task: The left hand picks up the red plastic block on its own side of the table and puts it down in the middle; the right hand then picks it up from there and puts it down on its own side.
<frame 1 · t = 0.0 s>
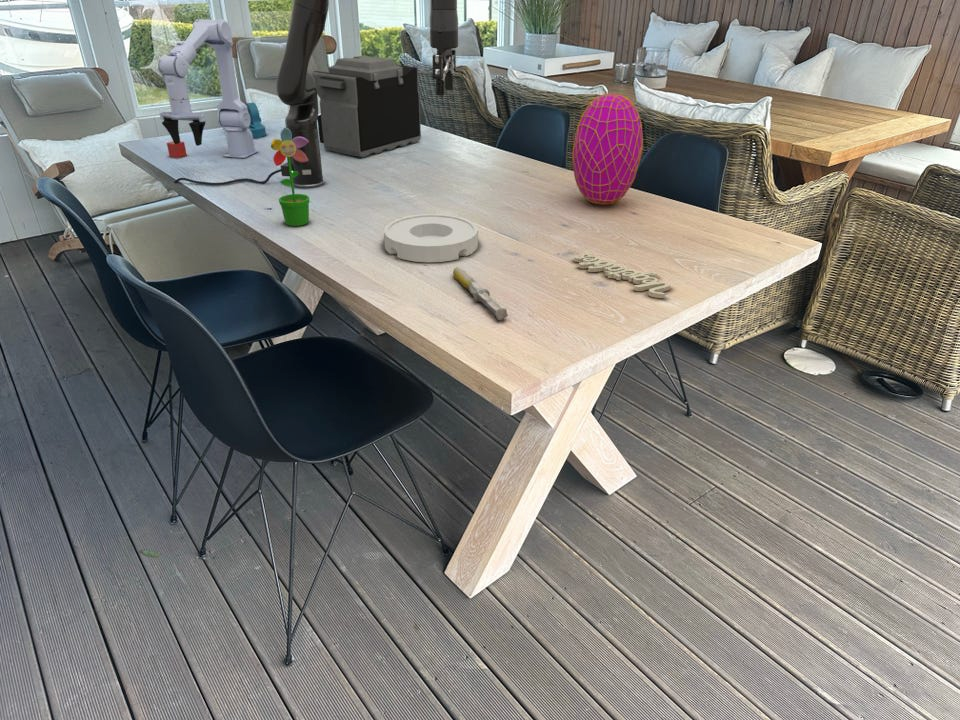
left hand: (188, 144, 216), 10 cm above the table, tool pointing down, fingers open, 7 cm apart
right hand: (444, 92, 191), 29 cm above the table, tool pointing down, fingers open, 8 cm apart
decorative sign: (623, 275, 156), on the table
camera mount: (249, 133, 274), on the table
cooler box: (371, 146, 258), on the table
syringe: (478, 297, 145), on the table
potted flower: (298, 223, 184), on the table
block: (178, 156, 242), on the table
decorative egg: (601, 203, 201), on the table
ashtray: (431, 245, 171), on the table
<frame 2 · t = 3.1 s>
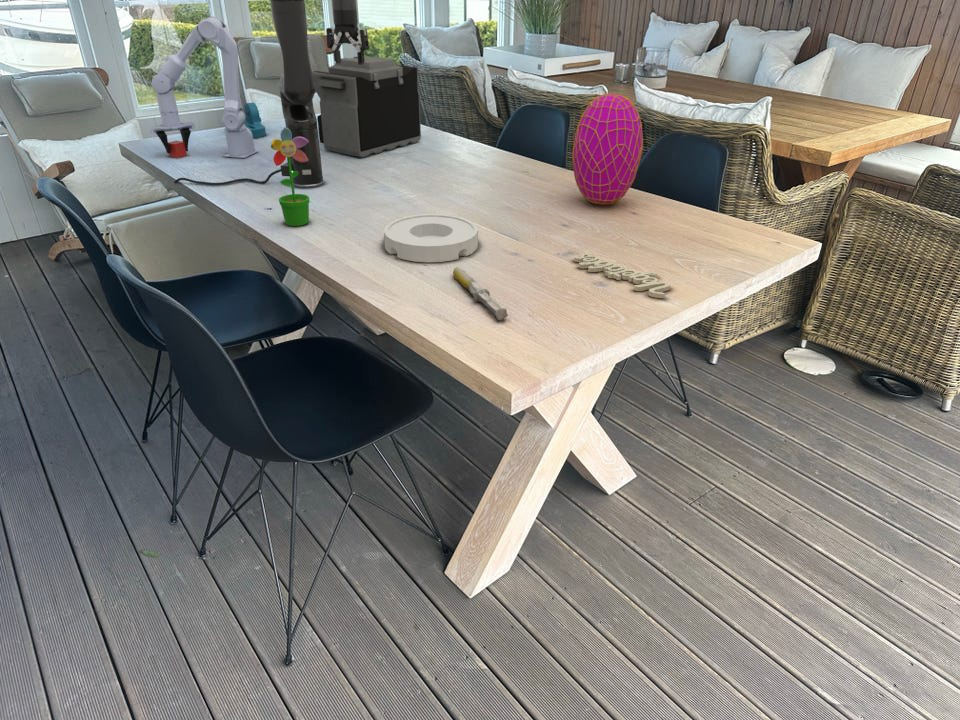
left hand: (177, 151, 242), 2 cm above the table, tool pointing down, fingers closed on block, 5 cm apart
right hand: (349, 63, 223), 31 cm above the table, tool pointing down, fingers open, 8 cm apart
block: (178, 156, 242), on the table, touching left hand
everything else where it was.
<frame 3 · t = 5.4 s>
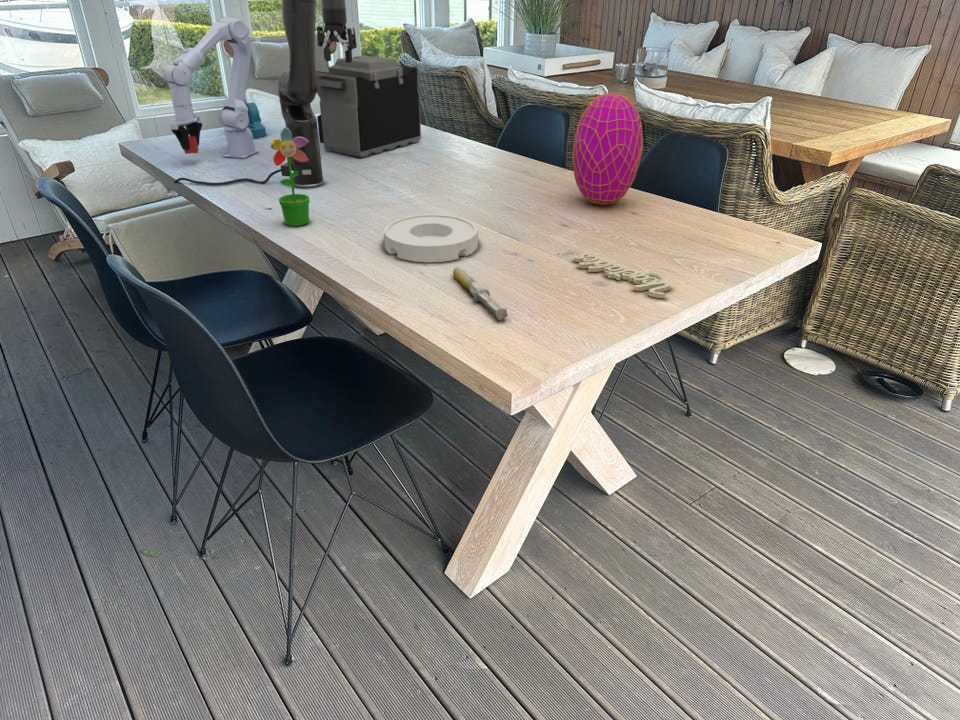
left hand: (191, 147, 230), 6 cm above the table, tool pointing down, fingers closed on block, 5 cm apart
right hand: (338, 61, 227), 31 cm above the table, tool pointing down, fingers open, 8 cm apart
block: (191, 152, 231), point 4 cm above the table, touching left hand
everything else where it was.
when the left hand's fingers open (2 cm above the table, at t = 7.6 s): block stays where it is, on the table.
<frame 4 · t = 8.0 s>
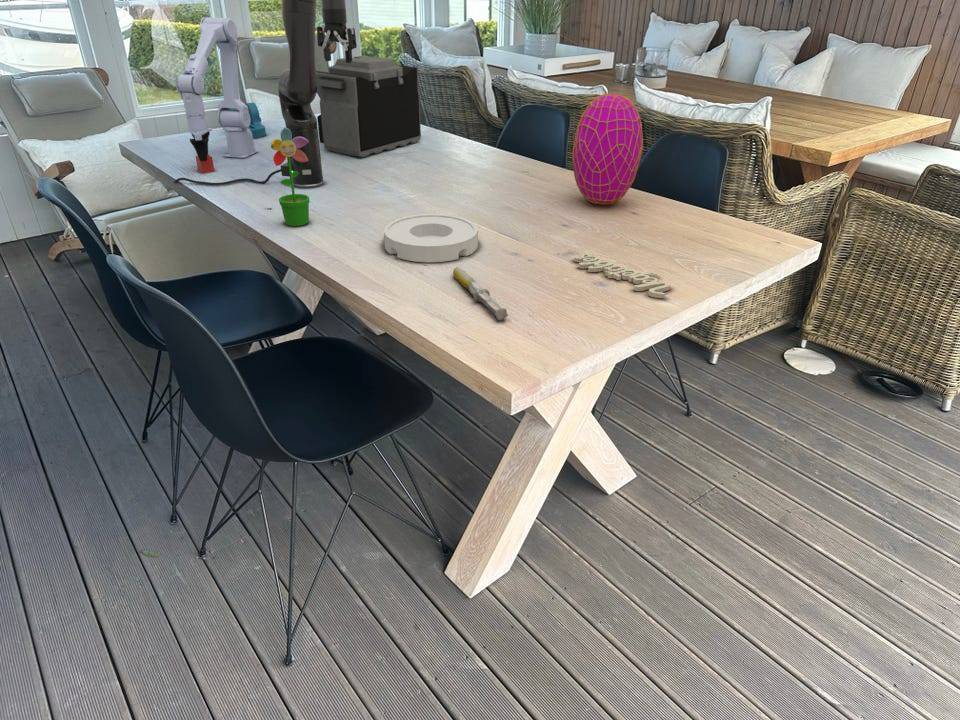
left hand: (204, 158, 225), 4 cm above the table, tool pointing down, fingers open, 7 cm apart
right hand: (338, 61, 227), 31 cm above the table, tool pointing down, fingers open, 8 cm apart
block: (206, 170, 227), on the table
everything else where it was.
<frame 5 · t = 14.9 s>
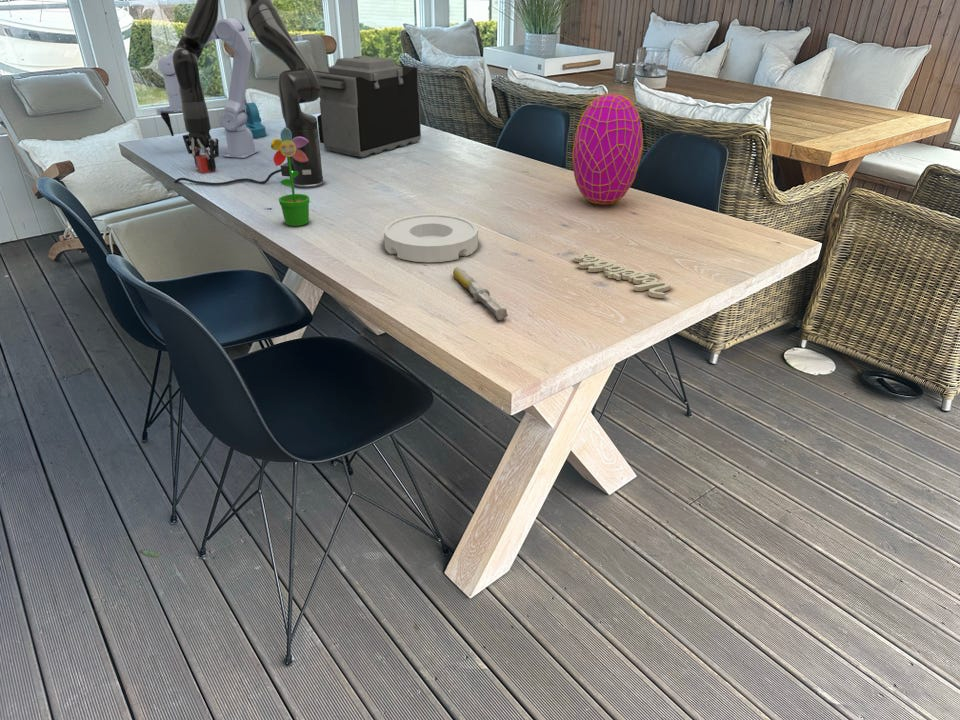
left hand: (184, 134, 242), 7 cm above the table, tool pointing down, fingers open, 7 cm apart
right hand: (206, 168, 226), 1 cm above the table, tool pointing down, fingers closed on block, 5 cm apart
block: (206, 170, 227), on the table, touching right hand
everything else where it was.
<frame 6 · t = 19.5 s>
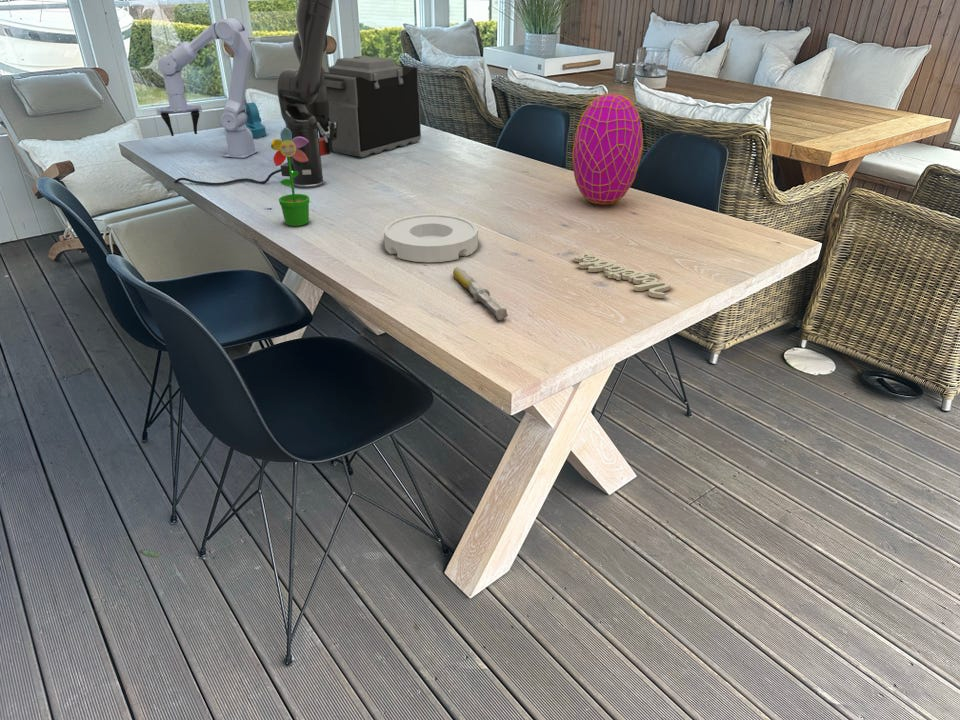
left hand: (184, 134, 242), 7 cm above the table, tool pointing down, fingers open, 7 cm apart
right hand: (321, 151, 230), 5 cm above the table, tool pointing down, fingers closed on block, 5 cm apart
block: (322, 153, 231), point 4 cm above the table, touching right hand
everything else where it was.
when the right hand's fingers open (2 cm above the table, at t = 24.4 s): block stays where it is, on the table.
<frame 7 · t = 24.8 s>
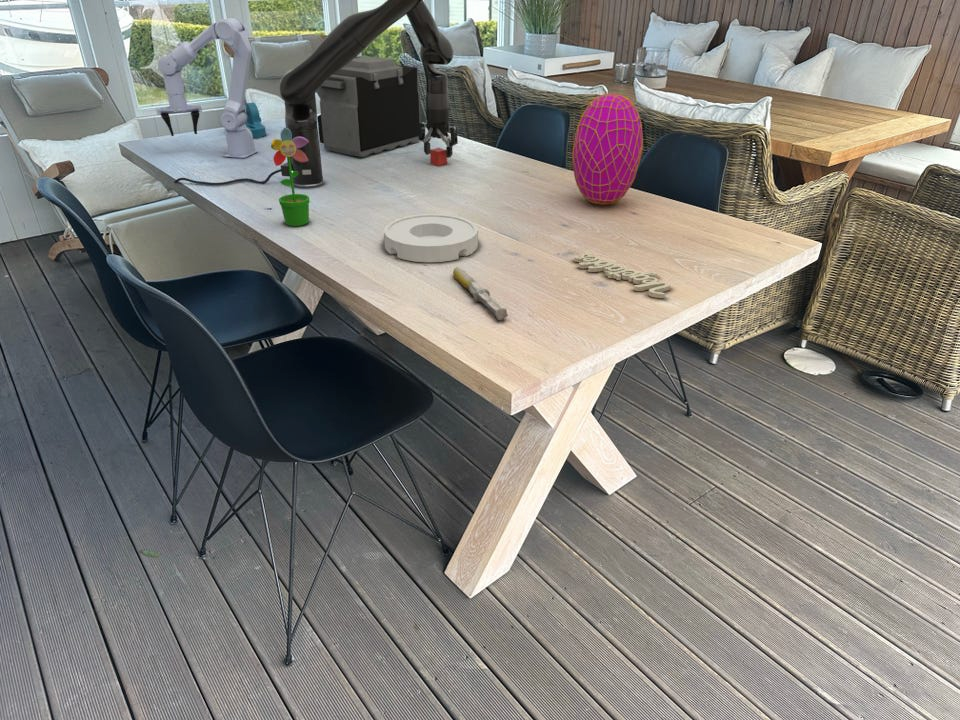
left hand: (184, 134, 242), 7 cm above the table, tool pointing down, fingers open, 7 cm apart
right hand: (438, 155, 236), 3 cm above the table, tool pointing down, fingers open, 8 cm apart
block: (438, 163, 237), on the table
everything else where it was.
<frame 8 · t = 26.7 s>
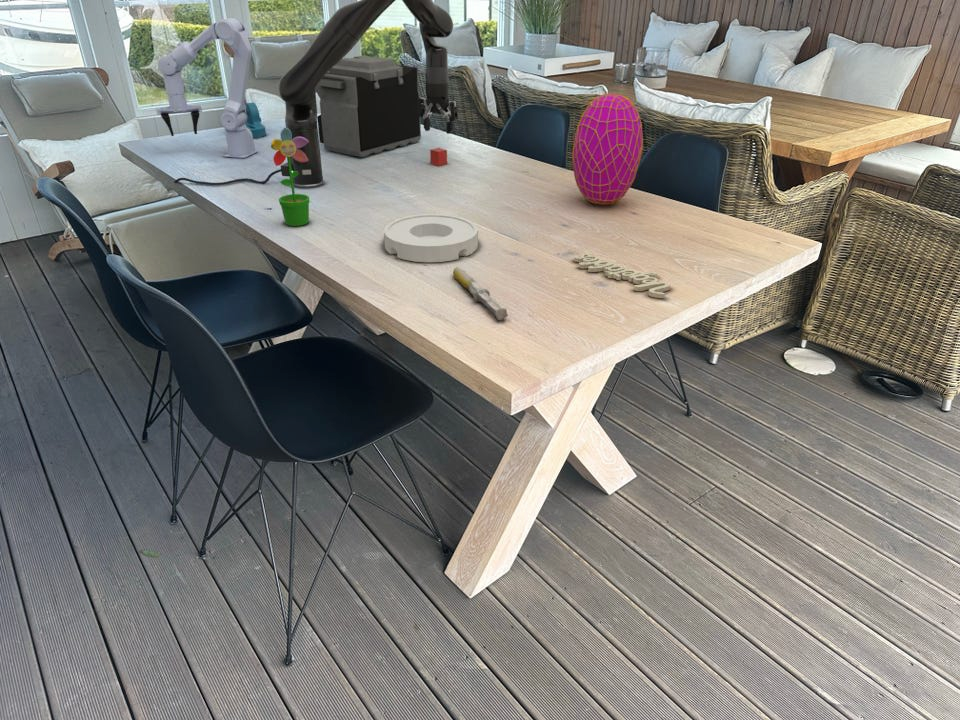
left hand: (184, 134, 242), 7 cm above the table, tool pointing down, fingers open, 7 cm apart
right hand: (438, 131, 232), 11 cm above the table, tool pointing down, fingers open, 8 cm apart
nothing on the table moved.
at the end: block inside the target area (0.0 cm from its centre), on the table; block tilted 0°; the two hands never held the block at the same time; the left hand is holding nothing; the right hand is holding nothing; block at rest at the end (0.0 cm/s) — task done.
